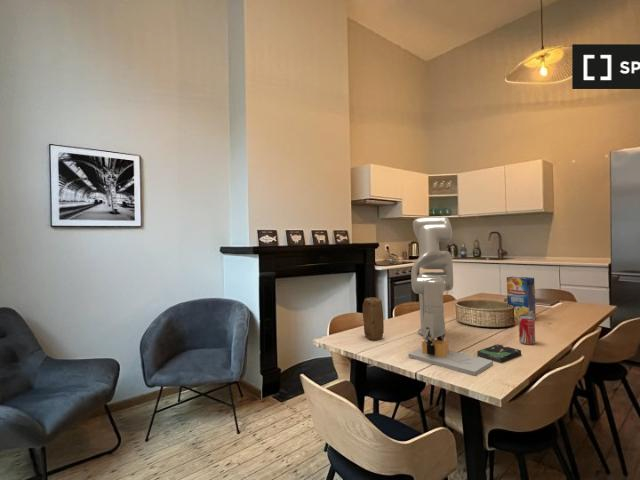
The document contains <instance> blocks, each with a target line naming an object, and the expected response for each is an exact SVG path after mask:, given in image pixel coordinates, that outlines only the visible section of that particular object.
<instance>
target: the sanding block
mask: <svg viewBox="0 0 640 480" xmlns="http://www.w3.org/2000/svg"><path fill="white" fill-rule="evenodd" d="M429 340H430V341H431V340H432V339H429ZM433 345H434V346H435V355H433V356H438V357H443V358H444V357H445V356H447V355H448V354H449V350H450V348H449V341H448V340H447V341H446V340H444V341H441V340H437V339H436V338H434V344H433ZM421 348H422V354H427V344H426V342H425V340H424V339H423V340H422V341H421ZM427 355H430V354H427Z"/></svg>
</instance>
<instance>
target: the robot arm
mask: <svg viewBox="0 0 640 480" xmlns="http://www.w3.org/2000/svg"><path fill="white" fill-rule="evenodd" d="M412 228H413V233H414V236H415V238H416V239H417V242H418V258H417V259H416V260H415V262H413V265H412V268H411V270H410V271H411V272H410V278H411V290H412V291H413V293H414V294H417V295H419V318H420V329H418V330H417V334H418V335H420V336H423V337H422V339H423V341H424V340H425V342H426V344H427V354H430V355H435V346H434V345H433V344H434V339H436V340H441V341H445V336H446V335H445V334H446V332H447V329H446V322H445V313H444V312H445V311H444V292H445V291H447V292H448V291H451V290H452V289H454V270H453V267H454V266H453V257H452V254H451V252H450V251H448V250H440V243H441V242H451V240H452V238H453V228H452V223H451V222H450V219H449V217H448V216H432V217H430V216H428V217H426V216H425V217H419V218H416V219H414V220H413V221H412ZM419 269H423V270H441V271H424V272H421V273H419ZM418 273H419V274H418ZM429 339H432V340H431V341H430V340H429Z"/></svg>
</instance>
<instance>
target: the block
mask: <svg viewBox="0 0 640 480" xmlns="http://www.w3.org/2000/svg"><path fill="white" fill-rule="evenodd" d="M382 302H383V301H382V299H381V298H379V297H374V296H373V297H370V296H369V297H366V298H364V300H363V303H362V319H363V320H362V321H363V331H364V335H365V337H366V338H367V339H369V340H372V341H378V340H381V339H382V338H383V337H384V330H385V327H384V326H385V324H384V323H385V322H384V311H383V310H384V308H383V303H382Z"/></svg>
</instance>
